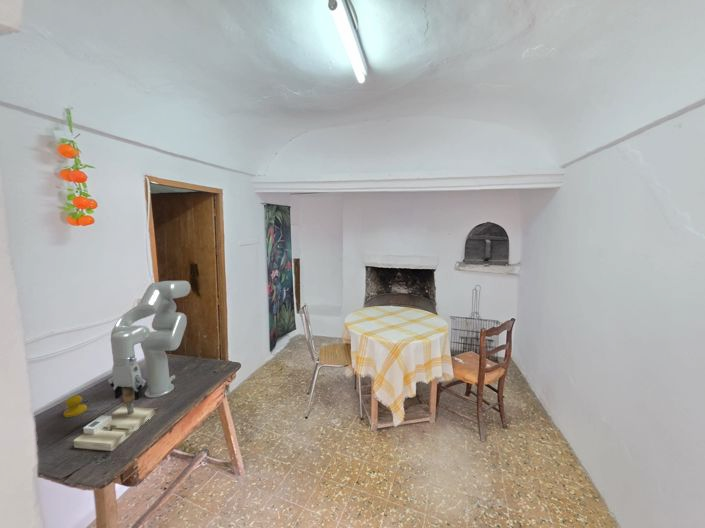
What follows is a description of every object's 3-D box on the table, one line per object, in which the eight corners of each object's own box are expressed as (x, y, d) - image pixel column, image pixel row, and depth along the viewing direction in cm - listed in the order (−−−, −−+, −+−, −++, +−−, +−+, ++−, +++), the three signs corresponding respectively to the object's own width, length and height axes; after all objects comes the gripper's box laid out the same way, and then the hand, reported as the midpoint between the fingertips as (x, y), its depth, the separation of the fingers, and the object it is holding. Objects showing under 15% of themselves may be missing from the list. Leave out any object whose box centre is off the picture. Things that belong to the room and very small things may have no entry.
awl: (130, 409, 137) (127, 384, 136) (138, 410, 137) (135, 385, 135) (122, 415, 133) (119, 389, 132) (131, 416, 133) (128, 390, 131)
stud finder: (102, 420, 130) (101, 415, 130) (112, 421, 130) (111, 415, 129) (84, 433, 122) (83, 427, 122) (94, 434, 122) (93, 428, 121)
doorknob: (78, 405, 146) (91, 408, 144) (59, 415, 138) (72, 418, 136) (76, 390, 145) (89, 393, 143) (56, 400, 137) (69, 403, 135)
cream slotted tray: (122, 412, 140) (122, 406, 140) (154, 414, 139) (154, 408, 138) (74, 447, 119) (73, 440, 118) (111, 450, 117) (110, 443, 117)
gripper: (149, 357, 134) (153, 394, 137) (113, 355, 136) (118, 391, 139) (135, 365, 127) (140, 404, 129) (98, 363, 129) (103, 401, 131)
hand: (128, 397), depth 134 cm, fingers open, 8 cm apart
